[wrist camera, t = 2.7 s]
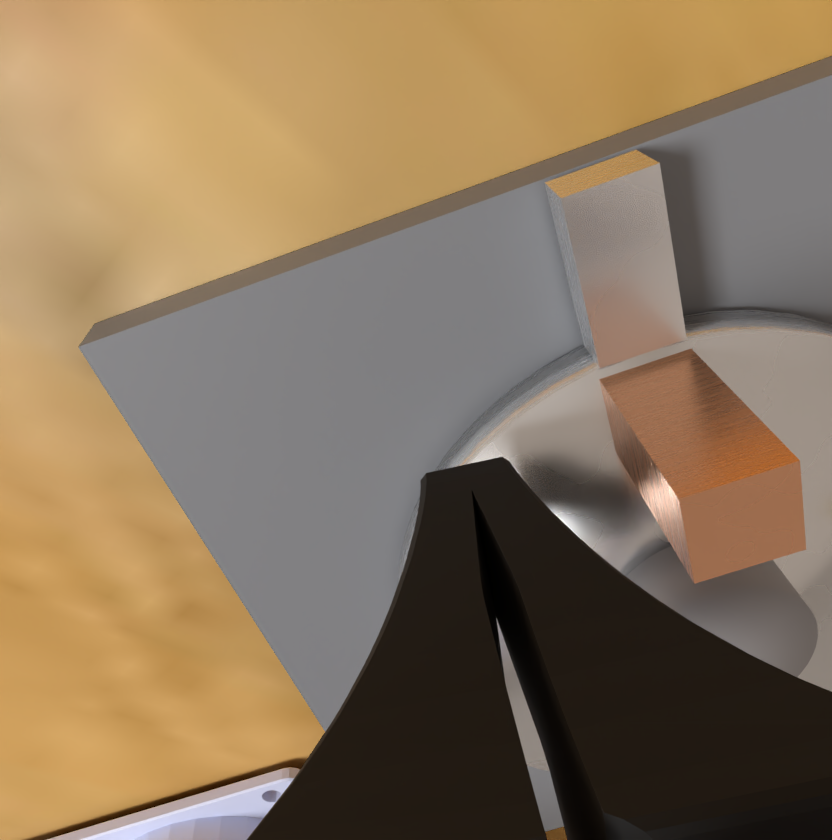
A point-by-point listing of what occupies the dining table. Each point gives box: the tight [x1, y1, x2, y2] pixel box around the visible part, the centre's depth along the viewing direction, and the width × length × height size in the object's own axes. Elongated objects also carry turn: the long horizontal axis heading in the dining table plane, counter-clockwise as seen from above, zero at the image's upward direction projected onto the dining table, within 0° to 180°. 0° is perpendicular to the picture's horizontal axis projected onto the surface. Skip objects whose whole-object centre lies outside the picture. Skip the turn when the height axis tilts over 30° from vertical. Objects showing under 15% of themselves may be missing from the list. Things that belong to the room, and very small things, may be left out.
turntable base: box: [79, 56, 832, 832], centre depth 16 cm, size 18×18×4 cm
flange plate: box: [399, 150, 832, 771], centre depth 14 cm, size 12×15×4 cm
